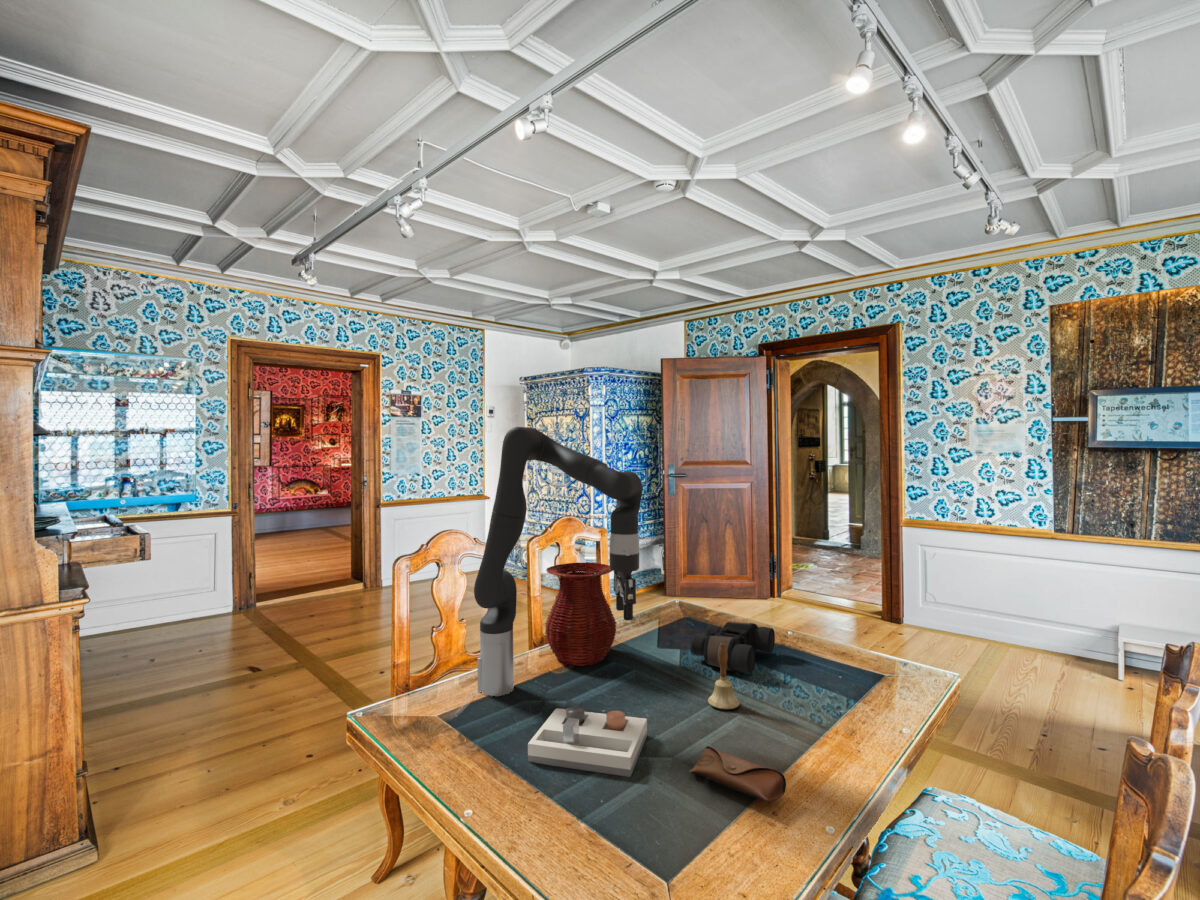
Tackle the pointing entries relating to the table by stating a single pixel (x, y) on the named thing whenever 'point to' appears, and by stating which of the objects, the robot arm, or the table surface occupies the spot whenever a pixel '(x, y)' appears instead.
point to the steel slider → (571, 731)
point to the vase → (580, 615)
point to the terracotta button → (615, 720)
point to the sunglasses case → (740, 775)
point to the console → (590, 744)
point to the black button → (575, 713)
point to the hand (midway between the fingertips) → (624, 614)
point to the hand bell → (723, 685)
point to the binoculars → (734, 644)
